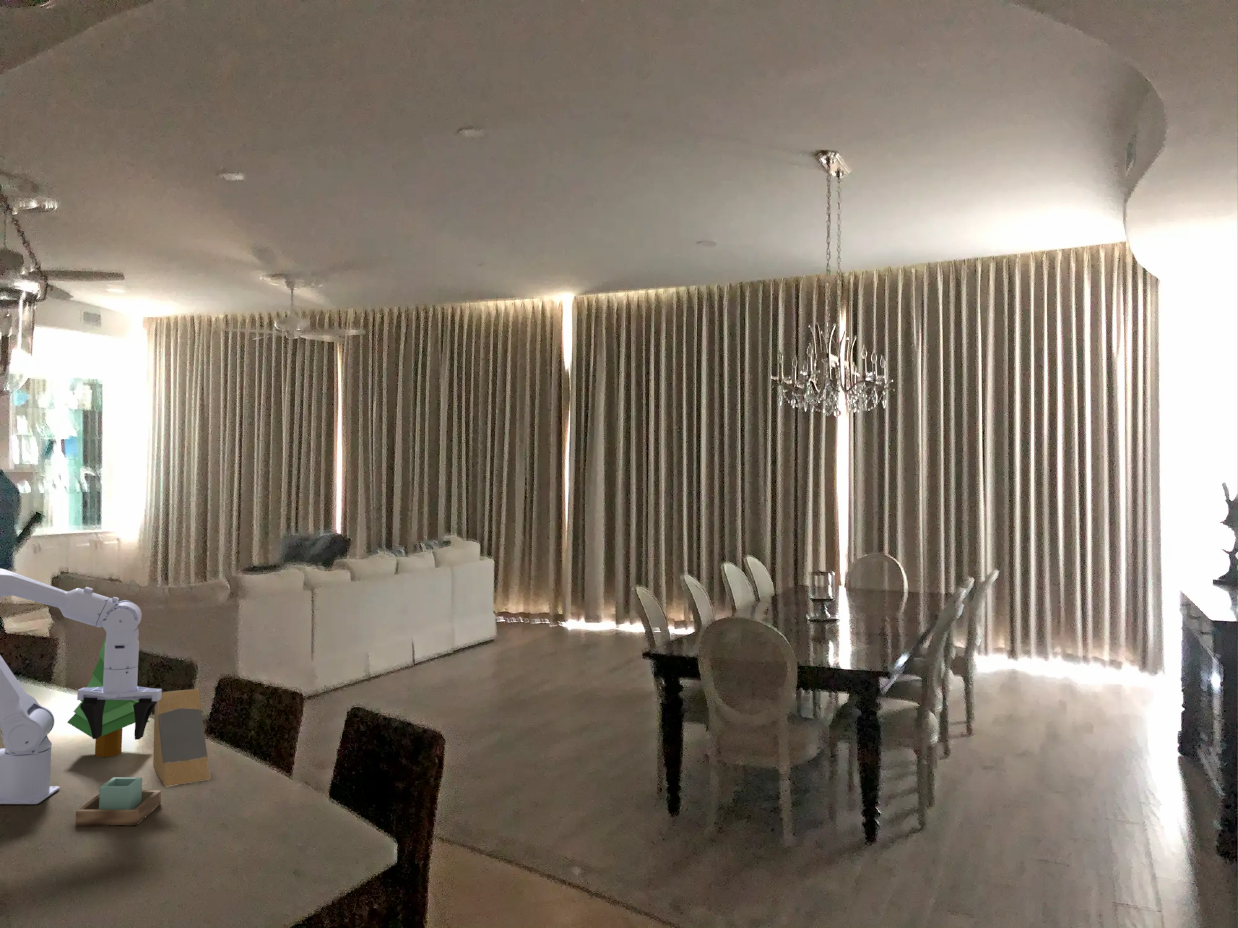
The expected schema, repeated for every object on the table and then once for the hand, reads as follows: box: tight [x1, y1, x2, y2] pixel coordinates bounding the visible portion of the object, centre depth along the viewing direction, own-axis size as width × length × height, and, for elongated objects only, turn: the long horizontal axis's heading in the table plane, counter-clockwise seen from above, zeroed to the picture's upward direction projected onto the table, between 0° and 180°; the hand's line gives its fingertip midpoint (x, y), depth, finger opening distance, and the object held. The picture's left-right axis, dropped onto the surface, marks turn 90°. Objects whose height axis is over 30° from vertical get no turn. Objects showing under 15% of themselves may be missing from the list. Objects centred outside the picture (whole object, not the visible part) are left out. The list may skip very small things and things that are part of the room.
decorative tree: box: [66, 636, 150, 758], centre depth 191 cm, size 14×16×30 cm
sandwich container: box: [152, 688, 212, 787], centre depth 181 cm, size 9×15×15 cm, turn 36°
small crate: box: [99, 776, 143, 810], centre depth 159 cm, size 5×5×5 cm
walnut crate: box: [75, 789, 162, 827], centre depth 159 cm, size 10×10×2 cm
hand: (118, 737), depth 171 cm, fingers open, 7 cm apart
